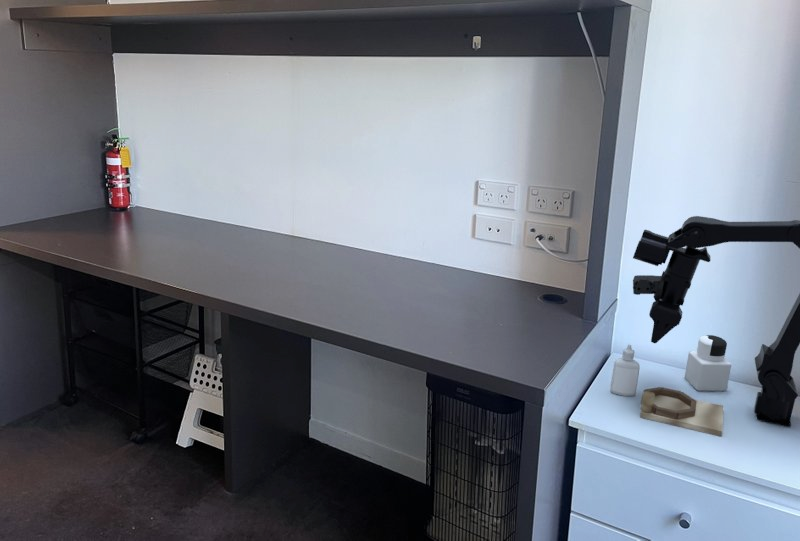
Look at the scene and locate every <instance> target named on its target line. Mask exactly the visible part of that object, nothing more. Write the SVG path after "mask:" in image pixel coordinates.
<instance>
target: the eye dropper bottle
mask: <svg viewBox="0 0 800 541" xmlns="http://www.w3.org/2000/svg"><path fill="white" fill-rule="evenodd" d="M632 348H633V347H632V344H628V345H627V346H626V348H624V349H622V350H623V351H622V357H621V358H617V359H615V360H614V361H613V368H612V375H611V384H610V392H611V393H612V394H615V395H620V396H624V397H634V396H636V394H637V390H638V383H639V382H638V381H639V377H640V376H639V375H640V368H641V367H640V365H641V364H640V363H639V361H636V360H635V359H634V357H635V350H633V349H632Z"/></svg>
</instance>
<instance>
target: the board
mask: <svg viewBox="0 0 800 541" xmlns="http://www.w3.org/2000/svg"><path fill="white" fill-rule="evenodd" d="M640 399H641V400H640V417H639V418H642V419H646V420H650V421H654V422H659V423H663V424H666V425H667V424H668V425H670V426H671V425H672V426H676V427H678V428H679V427H680V428H684V429H687V430H693V431H697V432H699V433H700V432H702V433H706V434H709V435H713V436H719V437H722V435H723V419H724V405H723V404H717V403H713V402H708V401H705V400H704V401H703V400H698V399H695V398H693V397H691V396H690V395H688V394H687V393H685V392H683V391H681V390H676V389H672V388H667V387H662V386H657V387H652V388H647V389H644V390H643V392H642V395H641V398H640Z"/></svg>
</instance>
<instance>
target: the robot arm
mask: <svg viewBox="0 0 800 541" xmlns="http://www.w3.org/2000/svg"><path fill="white" fill-rule="evenodd" d="M736 242H737V243H749V242H750V243H793V244H794V245H796V247H797V248H798V249H800V219H799V220H798V219H793V220H787V221H785V220H784V221H775V220H774V221H770V220H769V221H726V220H721V219H717V218H714V217H708V216H702V215H701V216H699V215H694V216H690V217H688V218H687V219H685V221H684V222H683V223H682V226H681V227H679V229H677V230H675V231H674V232H672V233H671V234H669V235H668V236H665V235H661V234H658V233H655V232H653V231H651V230H649V229H644V230H643V231H642V235H641V238H640V240H639V241H638V244H637V245H636V248H635V250H634V251H635V252H634V254H633V257H632V259H634V260H637V261H640V262H644V263H647V264H649V265H653V266H655V267H659V265H662V264H665V263H666V261H667V259H668V256H669V254H670V252H671V251H672V253H671V256H670V258H669V261H668V263H667V265H666V269H664V270H663V271H662V273H661V275H650V274H649V275H648V274H647V275H641V274H640V275H634V276H633V279H632V289H633V290H632V291H633V293H632V294H633V295H637V296H638V295H653V298H654V299H653V300H654V301H653V302H652V304H651V307H650V310H649V314H648V316H649V317H650V319H652V321H653V326H652V332H651V339H650V342H651V343H653V344H657V343H659V341H660V340H662V338H664V336H666V335H668V333H669V332H670V331H672V330H673V329H674V328H675V327H677V326H679V325H680V323H681V321H682V318H683V311H682V309H681V306H684V303H685V298H686V295H687V293H688V290H690V289H691V287H692V286H691V285H692V281H693V278H694V276H695V273H696V271H697V268H698V266H699V263H700V262H701V261H703V262H706V263H710V262H711V255H710V253H709V251H708V248H709V247H712V246H717V245H721V244H723V243H724V244H725V243H736ZM786 317H787V318H786V319H785V321H784V323H783V325H782V327H781V329H780V331H779V332H778V335H777V337H776V339H775V340H774V341H773V343H771V344H770V345H769V346H768V345H766V344H763V343H762V344H761V346H760V349H759V353H758V354H757V355H756V356H754V364H755V369H756V375H757V381H758V382H759V384H760V385H761V387H760V388H761V389H760V391H757V393H756V398H755V402H754V408H753V409H754V410H753V411H754V414H755V416H756V417H755V418H756V420H757V421H761V422H765V423H769V424H774V425H779V426H784V427H787V428H791V427H792V421H791V418H792V416H793V410H794V406H795V402H796V399H797V398H798V396H799V394H798V391H797V387H796V383H795V381H794V378H793V376H792V375H791V374H792V370H793V367H794V360H795V354H796V353H797V350H798V348H799V346H800V293H799V294H798V295H797V298H796V300H795V301H794V303H793V305H792V307H791V309H790V311H789V314H788V316H786Z"/></svg>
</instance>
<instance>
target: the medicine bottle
mask: <svg viewBox="0 0 800 541" xmlns="http://www.w3.org/2000/svg"><path fill="white" fill-rule="evenodd" d="M727 345H728V342H727V341H726V340H725V339H724V338H722V337H720V336H718V335H711V334H707V335H706V334H705V335H702V336H699V338H698V342H697V347H696V348H697V349H696V350H695V351H694V350H693V351H692V350H691V351H688V355H687V360H686V365H685V370H684V378H685V379H686V380H687V381H688V383H690V385H692V386H693V388H694V389H695V390H696V391H697V392H698V391H699V392H703V391H704V392H726V391H727V389H728V385H729V380H730V375H731V370H732V363H731V362H729V360H728V359H726V358H725V357H726V356H725V355H726V353H727V352H726V351H727V347H728V346H727Z"/></svg>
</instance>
